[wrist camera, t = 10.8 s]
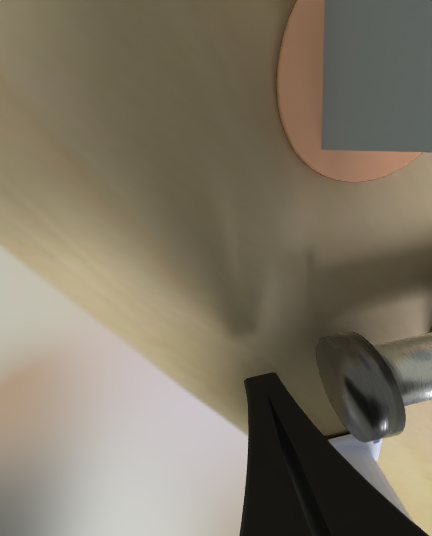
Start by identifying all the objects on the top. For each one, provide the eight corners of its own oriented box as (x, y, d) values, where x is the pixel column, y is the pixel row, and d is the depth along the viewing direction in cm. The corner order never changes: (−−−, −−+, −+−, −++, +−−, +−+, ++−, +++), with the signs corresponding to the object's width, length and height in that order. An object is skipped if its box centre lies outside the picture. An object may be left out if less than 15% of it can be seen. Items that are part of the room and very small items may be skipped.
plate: (446, 162, 10) (454, 163, 10) (281, 196, 10) (284, 198, 9) (511, -104, 7) (525, -115, 6) (269, -64, 6) (273, -74, 6)
